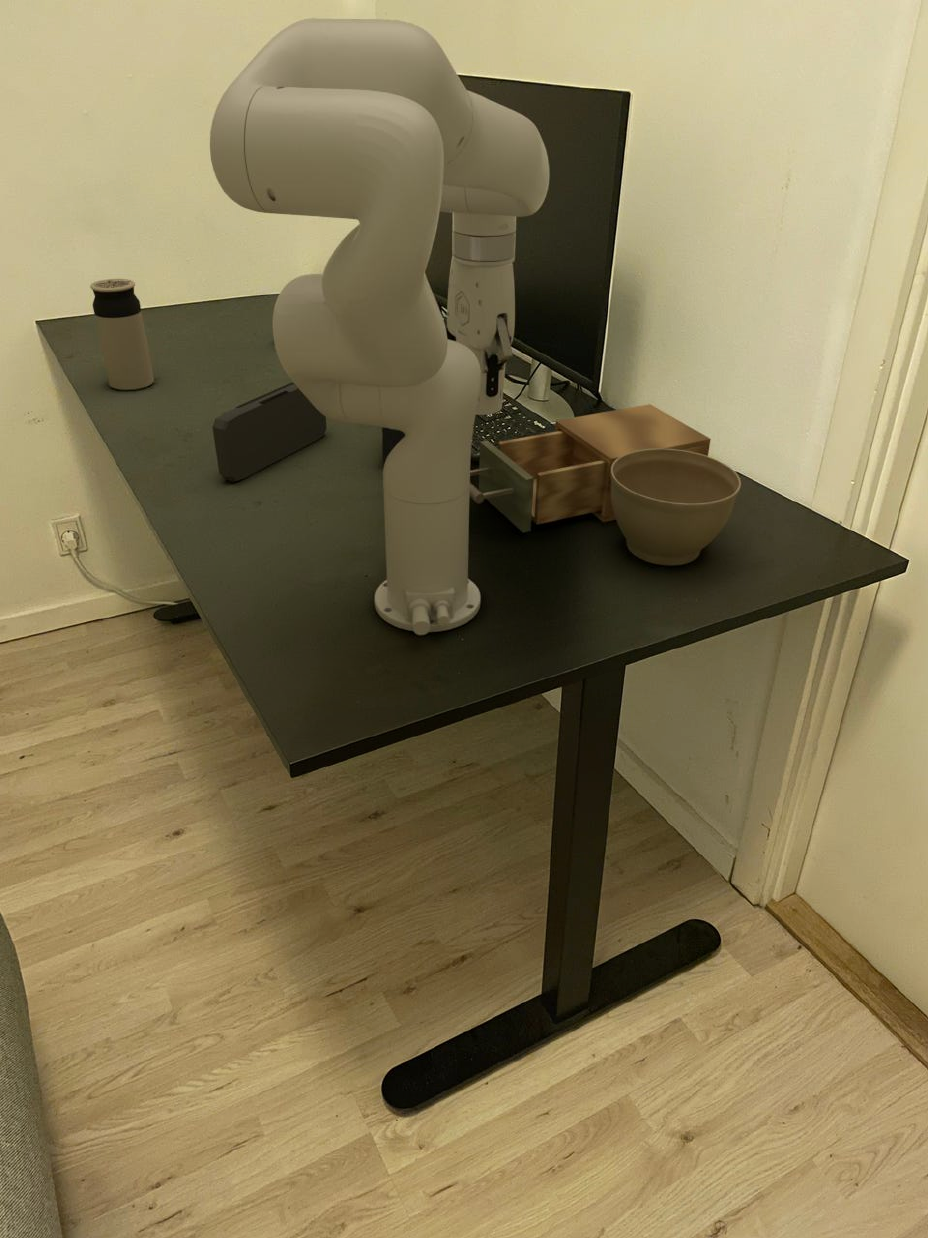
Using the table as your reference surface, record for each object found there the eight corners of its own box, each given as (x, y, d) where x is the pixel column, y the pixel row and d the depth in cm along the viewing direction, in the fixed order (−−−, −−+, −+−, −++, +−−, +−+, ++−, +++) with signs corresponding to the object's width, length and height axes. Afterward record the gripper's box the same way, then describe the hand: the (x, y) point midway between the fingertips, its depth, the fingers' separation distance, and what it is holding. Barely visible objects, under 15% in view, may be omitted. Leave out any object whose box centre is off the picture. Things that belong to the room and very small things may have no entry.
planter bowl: (634, 589, 112) (645, 509, 106) (583, 528, 125) (591, 454, 119) (749, 571, 116) (766, 494, 110) (689, 514, 129) (701, 442, 123)
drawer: (483, 541, 120) (485, 487, 115) (441, 499, 130) (441, 448, 125) (620, 510, 127) (626, 459, 123) (570, 473, 137) (574, 424, 133)
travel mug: (156, 388, 168) (138, 287, 158) (111, 393, 165) (89, 291, 155) (152, 374, 174) (134, 276, 164) (108, 379, 171) (87, 279, 161)
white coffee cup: (497, 418, 117) (500, 341, 111) (448, 412, 118) (448, 335, 113) (511, 400, 122) (514, 325, 116) (463, 394, 124) (464, 320, 118)
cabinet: (603, 522, 126) (610, 458, 121) (550, 480, 137) (555, 420, 132) (700, 500, 133) (711, 438, 127) (642, 462, 143) (650, 403, 138)
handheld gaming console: (315, 431, 152) (310, 372, 146) (328, 434, 151) (324, 375, 145) (218, 481, 135) (208, 417, 130) (232, 485, 134) (222, 421, 129)
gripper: (425, 235, 114) (427, 378, 124) (489, 265, 101) (485, 421, 112) (478, 230, 116) (476, 370, 127) (547, 258, 104) (537, 411, 115)
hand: (480, 392), depth 119 cm, fingers closed on white coffee cup, 3 cm apart
